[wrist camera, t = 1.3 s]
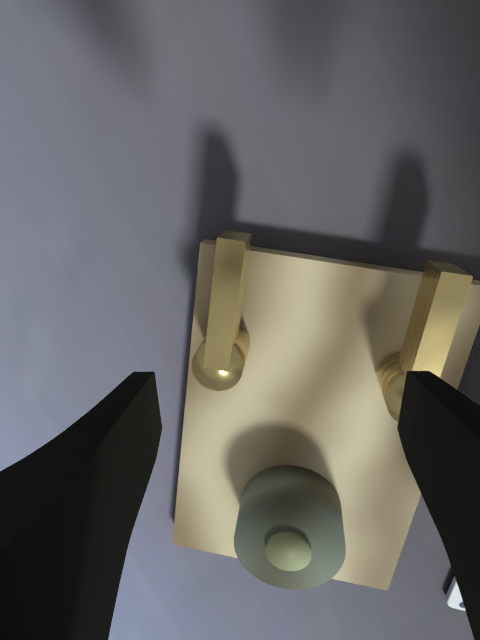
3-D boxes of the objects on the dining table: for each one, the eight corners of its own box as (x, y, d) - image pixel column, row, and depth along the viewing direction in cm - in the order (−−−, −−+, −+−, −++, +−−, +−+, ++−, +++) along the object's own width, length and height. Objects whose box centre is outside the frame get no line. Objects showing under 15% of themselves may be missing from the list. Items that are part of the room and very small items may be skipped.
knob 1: (266, 232, 20) (260, 244, 17) (247, 367, 23) (238, 397, 20) (217, 225, 21) (202, 235, 18) (203, 359, 23) (188, 387, 20)
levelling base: (482, 281, 21) (528, 310, 17) (384, 573, 28) (398, 647, 24) (205, 238, 22) (182, 256, 18) (177, 529, 29) (155, 591, 25)
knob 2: (461, 261, 20) (489, 278, 17) (418, 397, 22) (436, 433, 19) (407, 253, 20) (426, 269, 17) (371, 389, 22) (381, 423, 19)
